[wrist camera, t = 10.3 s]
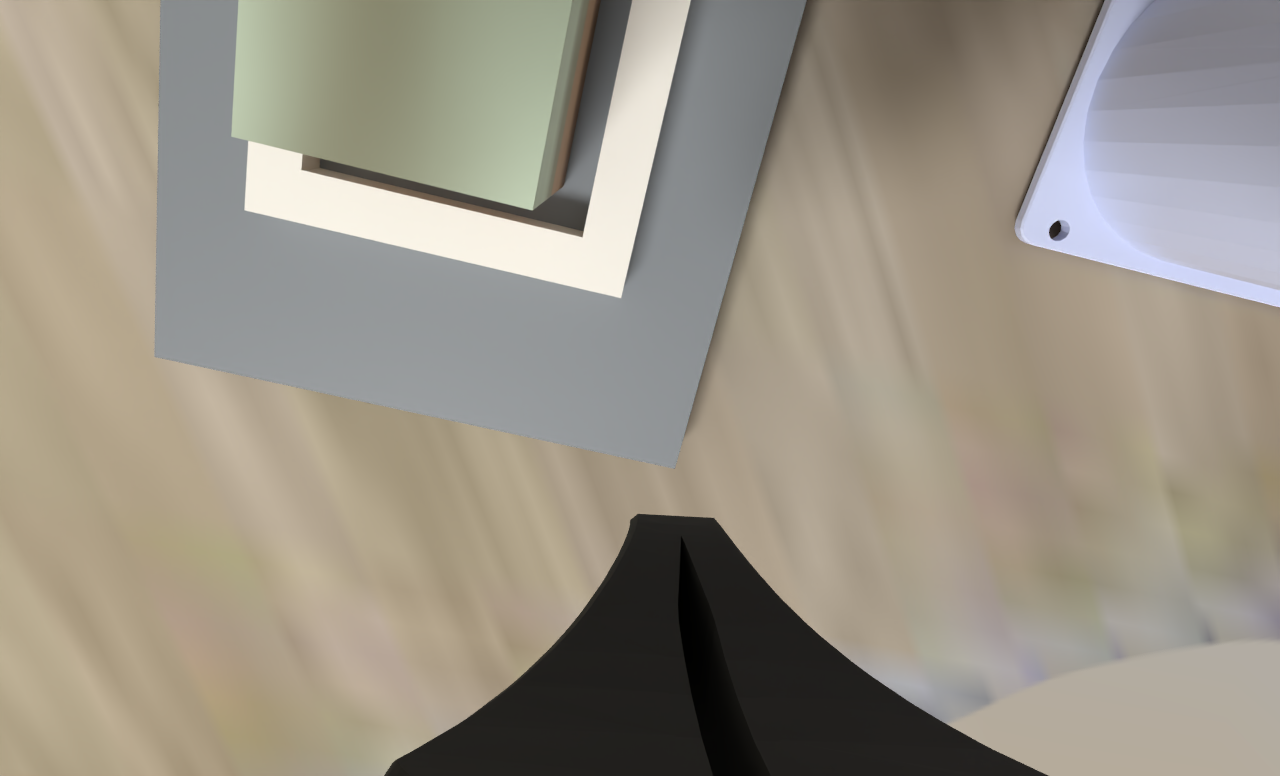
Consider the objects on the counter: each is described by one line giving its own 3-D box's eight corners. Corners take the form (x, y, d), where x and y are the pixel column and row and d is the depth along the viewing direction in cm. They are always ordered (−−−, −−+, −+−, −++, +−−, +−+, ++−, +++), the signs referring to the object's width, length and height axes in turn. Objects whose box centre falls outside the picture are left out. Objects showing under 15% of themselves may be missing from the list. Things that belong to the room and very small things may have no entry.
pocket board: (882, -306, 15) (921, -373, 13) (672, 450, 21) (676, 485, 19) (206, -517, 14) (134, -627, 12) (181, 343, 20) (129, 368, 18)
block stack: (609, -43, 16) (596, -129, 11) (563, 186, 18) (532, 210, 12) (381, -107, 16) (250, -229, 10) (355, 134, 17) (231, 136, 12)
